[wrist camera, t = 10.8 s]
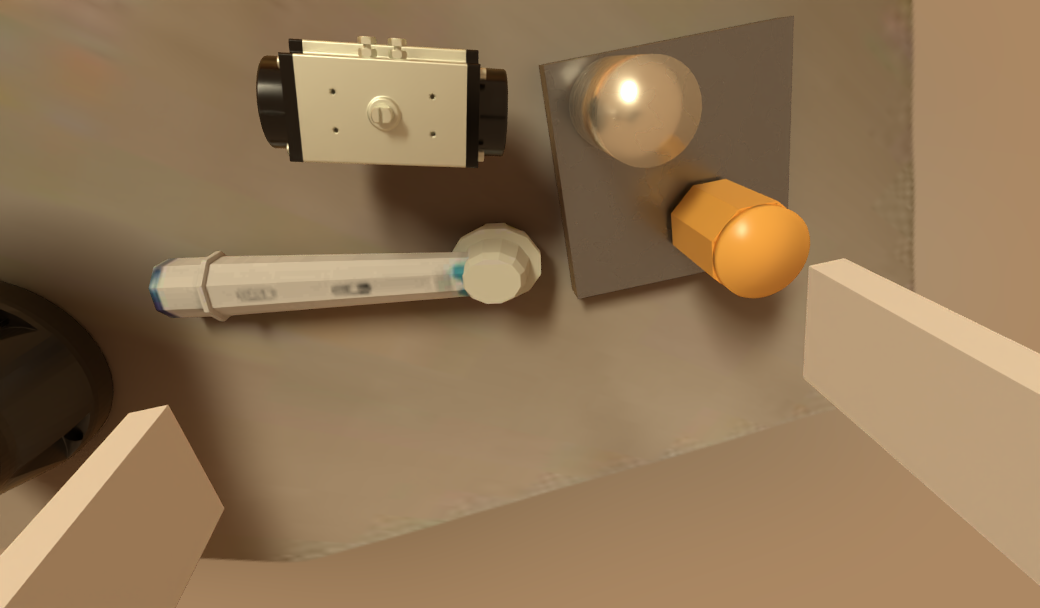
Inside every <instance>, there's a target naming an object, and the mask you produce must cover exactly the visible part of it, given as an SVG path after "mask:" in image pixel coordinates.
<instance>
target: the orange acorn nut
mask: <svg viewBox="0 0 1040 608" xmlns="http://www.w3.org/2000/svg"><path fill="white" fill-rule="evenodd" d="M671 223H672V239H673V245H674V246H675V247H676V248H677V249H678V250H680V251H681V252H682V253H683V254H685V255H686V256H687V257H688V258H689V259H691V260H692V261H693V262H694V263H695V264H697V265H698V266H699V267H700V268H702V269H703V270H704V271H705V272H706V273H708V274H709V275H710V276H711V277H713V278H714V279H715V280H717V281H718V282H719V283H721V284H722V285H724V286H725V287H726V288H728V289H729V290H730V291H731V292H733V293H735V294H736V295H738V296H739V297H740V296H741V297H746V298H761V297H766V296H769V295H772V294H774V293H776V292H778V291H780V290H782V289H783V288H785V287H786V286H787V285H789V284H790V283H791V282H792V281H793V280H794V279H795V278H796V277H797V275H798V274H799V273H800V271H801V270H802V268H803V266H804V264H805V262H806V260H807V257H808V253H809V248H810V236H809V232H808V228H807V226H806V224H805V222H804V221H803V220H802V218H801V217H800V216H799V215H797V214H796V213H794V212H793V211H791V210H789V209H787V208H786V207H784V206H783V205H782V204H781V203H780V202H778V201H777V200H774V199H772V198H770V197H767V196H765V195H763V194H760V193H758V192H755V191H753V190H751V189H748V188H746V187H744V186H741V185H739V184H737V183H734V182H732V181H730V180H727V179H722V180H718V181H713V182H708V183H703V184H698V185H693V186H692V187H691V189H690V190H689V191H688V192H687V194H686V195H685V196H684V198H683V199H682V200H681V201H680V203H679V204H678V205H677V206H676V208H675V209H674V210H673V212H672V213H671Z"/></svg>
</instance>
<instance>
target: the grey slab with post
mask: <svg viewBox="0 0 1040 608" xmlns="http://www.w3.org/2000/svg"><path fill="white" fill-rule="evenodd" d="M793 26H794V16H789V17H781V18H775V19H770V20H765V21H760V22H754V23H749V24H744V25H739V26H734V27H729V28H724V29H719V30H714V31H709V32H704V33H699V34H694V35H689V36H684V37H679V38H674V39H669V40H664V41H659V42H654V43H648V44H643V45H638V46H633V47H628V48H623V49H618V50H613V51H608V52H603V53H598V54H593V55H588V56H583V57H578V58H573V59H568V60H563V61H558V62H553V63H547V64H542V65H539V70H540V77H541V84H542V90H543V97H544V104H545V110H546V117H547V124H548V130H549V137H550V144H551V150H552V157H553V164H554V170H555V177H556V184H557V190H558V197H559V204H560V210H561V217H562V224H563V230H564V237H565V244H566V250H567V257H568V264H569V270H570V277H571V284H572V289H573V291H574V293H575V295H576V296H577V298H578V299H580V298H585V297H589V296H594V295H599V294H603V293H608V292H613V291H617V290H622V289H627V288H631V287H636V286H641V285H645V284H650V283H655V282H659V281H664V280H669V279H673V278H678V277H683V276H687V275H692V274H697V273H701V272H705V271H704V270H703V269H702V268H700V267H699V266H698V265H697V264H695V263H694V262H693V261H692V260H691V259H689V258H688V257H687V256H686V255H685V254H683V253H682V252H681V251H680V250H678V249H677V248H676V247H675V246H674V245H673V239H672V223H671V213H672V212H673V210H674V209H675V208H676V206H677V205H678V204H679V203H680V201H681V200H682V199H683V198H684V196H685V195H686V194H687V192H688V191H689V190H690V189H691V187H692V186H693V185H698V184H703V183H708V182H713V181H718V180H722V179H727V180H730V181H732V182H734V183H737V184H739V185H741V186H744V187H746V188H748V189H751V190H753V191H755V192H758V193H760V194H763V195H765V196H767V197H770V198H772V199H774V200H777V201H778V202H780V203H781V204H782V205H783V206H784V207H786V208H787V209H788V190H789V157H790V124H791V92H792V59H793Z"/></svg>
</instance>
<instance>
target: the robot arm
mask: <svg viewBox="0 0 1040 608" xmlns="http://www.w3.org/2000/svg"><path fill="white" fill-rule="evenodd" d="M803 378H804V379H805V380H806V381H807V382H808V383H809V384H811V385H812V386H813V387H814V388H815V389H816V390H817V391H818V392H820V393H821V394H822V395H823V396H824V397H825V398H826V399H828V400H829V401H830V402H831V403H832V404H833V405H834V406H836V407H837V408H838V409H839V410H840V411H841V412H842V413H844V414H845V415H846V416H847V417H848V418H849V419H850V420H852V421H853V422H854V423H855V424H856V425H857V426H858V427H859V428H861V429H862V430H863V431H864V432H865V433H866V434H867V435H869V436H870V437H871V438H872V439H873V440H874V441H876V442H877V443H878V444H879V445H880V446H881V447H882V448H883V449H885V450H886V451H887V452H888V453H889V454H890V455H891V456H893V457H894V458H895V459H896V460H897V461H898V462H899V463H900V464H902V465H903V466H904V467H905V468H906V469H908V471H910V472H911V473H912V474H913V475H914V476H915V477H917V478H918V479H919V480H920V481H921V482H922V483H923V484H925V485H926V486H927V487H928V488H929V489H930V490H931V491H932V492H933V493H935V494H936V495H937V496H938V497H939V498H940V499H942V500H943V501H944V502H945V503H946V504H947V505H948V506H949V507H951V508H952V509H953V510H954V511H955V512H956V513H957V514H959V515H960V516H961V517H962V518H963V519H964V520H965V521H967V522H968V523H969V524H970V525H971V526H972V527H973V528H975V529H976V530H977V531H978V532H979V533H980V534H981V535H982V536H984V537H985V538H986V539H987V540H988V541H989V542H990V543H992V544H993V545H994V546H995V547H996V548H997V549H999V550H1000V551H1001V552H1002V553H1003V554H1004V555H1005V556H1006V557H1007V558H1009V559H1010V560H1011V561H1012V562H1014V564H1015V565H1017V566H1018V567H1019V568H1020V569H1021V570H1022V571H1023V572H1025V573H1026V574H1027V575H1028V576H1029V577H1030V578H1031V579H1033V580H1034V581H1035V582H1036V583H1037V584H1038V585H1039V586H1040V354H1039V353H1037V352H1035V351H1033V350H1031V349H1029V348H1027V347H1025V346H1023V345H1020V344H1019V343H1016V342H1014V341H1012V340H1010V339H1008V338H1006V337H1004V336H1002V335H1000V334H998V333H996V332H994V331H992V330H990V329H988V328H986V327H984V326H982V325H980V324H977V323H975V322H974V321H971V320H969V319H967V318H965V317H963V316H961V315H959V314H957V313H955V312H953V311H951V310H949V309H947V308H945V307H943V306H941V305H939V304H936V303H935V302H933V301H931V300H928V299H926V298H924V297H922V296H920V295H918V294H916V293H914V292H912V291H910V290H908V289H906V288H904V287H902V286H900V285H898V284H896V283H894V282H892V281H890V280H888V279H886V278H883V277H881V276H879V275H877V274H875V273H873V272H871V271H869V270H867V269H865V268H863V267H861V266H859V265H857V264H855V263H853V262H851V261H849V260H847V259H845V258H844V259H839V260H835V261H830V262H825V263H821V264H816V265H811V266H809V274H808V293H807V313H806V332H805V351H804V370H803ZM112 399H113V385H112V378H111V374H110V371H109V368H108V365H107V362H106V360H105V358H104V356H103V354H102V352H101V351H100V349H99V347H98V346H97V344H96V343H95V342H94V340H93V339H92V338H91V336H90V335H89V334H88V333H87V332H86V331H85V330H84V329H83V328H82V326H81V325H79V324H78V323H77V322H76V321H75V320H74V319H73V318H72V317H70V316H69V315H68V314H67V313H65V312H64V311H63V310H61V309H60V308H58V307H57V306H55V305H54V304H52V303H51V302H49V301H47V300H46V299H44V298H42V297H40V296H38V295H36V294H34V293H32V292H30V291H27V290H25V289H23V288H20V287H17V286H15V285H12V284H9V283H5V282H2V281H0V495H1V494H3V493H5V492H7V491H8V490H10V489H12V488H14V487H16V486H18V485H20V484H22V483H24V482H26V481H28V480H30V479H32V478H34V477H36V476H38V475H40V474H42V473H44V472H46V471H48V470H50V469H52V468H54V467H56V466H58V465H60V464H61V463H63V462H65V461H66V460H68V459H69V458H70V457H72V456H73V455H74V454H76V453H77V452H78V451H79V450H80V449H81V448H82V447H83V446H84V445H85V444H86V443H87V442H88V441H89V440H90V439H91V438H92V437H93V436H94V435H95V434H96V432H97V431H98V430H99V429H100V428H101V427H102V425H103V424H104V422H105V420H106V418H107V416H108V414H109V412H110V408H111V405H112ZM224 509H225V508H224V506H223V505H222V503H221V501H220V499H219V497H218V495H217V494H216V492H215V490H214V488H213V486H212V484H211V482H210V481H209V479H208V477H207V475H206V473H205V471H204V470H203V468H202V466H201V464H200V462H199V460H198V459H197V457H196V455H195V453H194V451H193V449H192V447H191V446H190V444H189V442H188V440H187V438H186V436H185V435H184V433H183V431H182V429H181V427H180V425H179V424H178V422H177V420H176V418H175V416H174V414H173V412H172V411H171V409H170V407H169V405H165V406H160V407H155V408H151V409H146V410H141V411H137V412H132V413H129V414H128V415H127V416H126V417H125V418H124V419H123V420H122V421H121V422H120V424H119V425H118V426H117V427H116V428H115V429H114V430H113V431H112V432H111V434H110V435H109V436H108V437H107V438H106V439H105V440H104V441H103V442H102V444H101V445H100V446H99V447H98V448H97V449H96V450H95V451H94V452H93V454H92V455H91V456H90V457H89V458H88V459H87V460H86V461H85V462H84V464H83V465H82V466H81V467H80V468H79V469H78V470H77V471H76V472H75V474H74V475H73V476H72V477H71V478H70V479H69V480H68V481H67V482H66V483H65V485H64V486H63V487H62V488H61V489H60V490H59V491H58V492H57V493H56V495H55V496H54V497H53V498H52V499H51V500H50V501H49V502H48V503H47V505H46V506H45V507H44V508H43V509H42V510H41V511H40V512H39V513H38V515H37V516H36V517H35V518H34V519H33V520H32V521H31V522H30V523H29V525H28V526H27V527H26V528H25V529H24V530H23V531H22V532H21V533H20V535H19V536H18V537H17V538H16V539H15V540H14V541H13V542H12V543H11V545H10V546H9V547H8V548H7V549H6V550H5V551H4V552H3V554H1V556H0V608H176V606H177V604H178V602H179V600H180V598H181V596H182V594H183V591H184V590H185V588H186V586H187V583H188V581H189V579H190V577H191V575H192V573H193V571H194V569H195V567H196V565H197V563H198V561H199V559H200V557H201V555H202V553H203V551H204V549H205V547H206V545H207V543H208V541H209V539H210V537H211V535H212V533H213V531H214V529H215V527H216V525H217V523H218V521H219V519H220V517H221V515H222V513H223V511H224Z"/></svg>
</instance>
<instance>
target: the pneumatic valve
mask: <svg viewBox="0 0 1040 608" xmlns="http://www.w3.org/2000/svg"><path fill="white" fill-rule="evenodd" d="M289 49H290V53H281V52H278V56H268V55H267V56H264V57H263V58H262V59H261V61H260V63H259V66H258V71H257V81H256V92H257V105H258V112H259V117H260V122H261V125H262V129H263V132H264V134H265V137H266V139H267V141H268V142H269V144H270V145H271V146H272V147H274V148H285V149H287V153H288V154H289V156H290V161H291V162H319V163H349V164H378V165H408V166H437V167H467V168H478V162H483V161H484V156H502V155H503V153H504V149H505V143H506V132H507V115H508V85H507V75H506V71H505V70H504V69H492V68H481V67H480V64H478V50H464V49H448V48H432V47H416V46H407V41H406V39H398V38H389V39H388V45H384V44H377V43H376V38H375V37H367V36H358V38H357V43H352V42H336V41H319V40H303V39H289Z"/></svg>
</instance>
